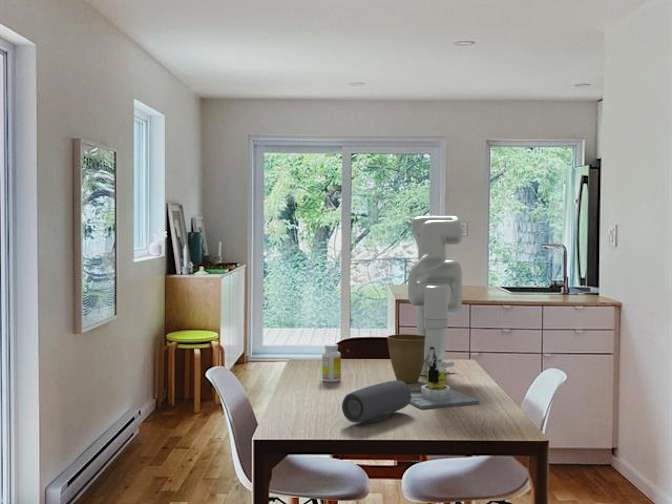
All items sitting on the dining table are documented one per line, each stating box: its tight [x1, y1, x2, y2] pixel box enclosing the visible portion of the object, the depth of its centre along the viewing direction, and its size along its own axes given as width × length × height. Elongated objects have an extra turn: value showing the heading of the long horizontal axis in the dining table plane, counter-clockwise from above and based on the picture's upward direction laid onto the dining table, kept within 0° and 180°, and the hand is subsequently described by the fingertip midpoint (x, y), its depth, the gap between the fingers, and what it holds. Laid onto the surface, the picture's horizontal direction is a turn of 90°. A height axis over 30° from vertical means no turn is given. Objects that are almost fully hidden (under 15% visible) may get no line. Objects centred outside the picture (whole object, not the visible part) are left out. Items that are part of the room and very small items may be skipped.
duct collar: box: [409, 384, 480, 410], centre depth 250 cm, size 20×20×4 cm
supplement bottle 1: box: [321, 343, 342, 383], centre depth 280 cm, size 7×7×13 cm
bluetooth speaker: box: [341, 380, 411, 424], centre depth 226 cm, size 23×9×10 cm, turn 141°
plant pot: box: [386, 333, 425, 384], centre depth 278 cm, size 15×15×16 cm
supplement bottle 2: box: [426, 359, 445, 389], centre depth 250 cm, size 5×5×10 cm
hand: (435, 380), depth 250 cm, fingers closed on supplement bottle 2, 5 cm apart
